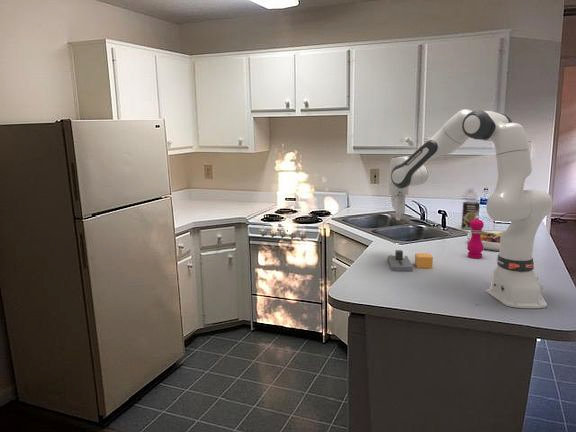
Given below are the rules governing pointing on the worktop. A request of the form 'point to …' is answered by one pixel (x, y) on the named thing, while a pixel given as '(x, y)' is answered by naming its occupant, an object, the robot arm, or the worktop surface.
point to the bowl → (489, 239)
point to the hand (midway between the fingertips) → (397, 219)
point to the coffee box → (469, 214)
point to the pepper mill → (475, 239)
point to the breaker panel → (400, 264)
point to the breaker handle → (399, 254)
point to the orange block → (423, 260)
